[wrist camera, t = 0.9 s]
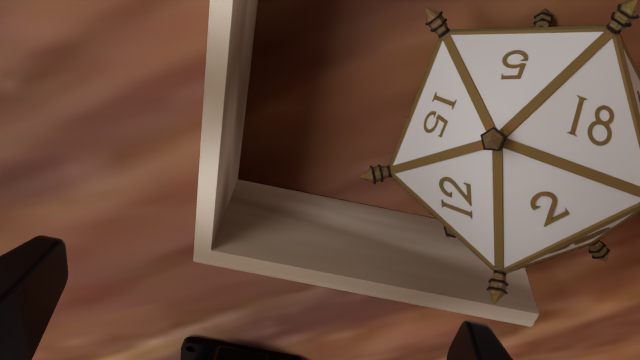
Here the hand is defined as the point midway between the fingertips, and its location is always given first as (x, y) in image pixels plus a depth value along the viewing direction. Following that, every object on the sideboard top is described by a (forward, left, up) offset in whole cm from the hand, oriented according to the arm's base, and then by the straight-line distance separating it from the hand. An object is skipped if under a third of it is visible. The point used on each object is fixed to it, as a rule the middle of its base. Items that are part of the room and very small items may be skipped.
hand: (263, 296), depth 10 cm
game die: (0, -6, -12) cm, 14 cm away
